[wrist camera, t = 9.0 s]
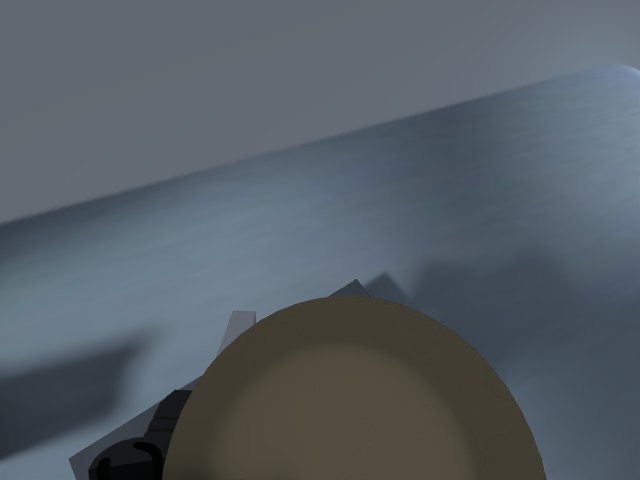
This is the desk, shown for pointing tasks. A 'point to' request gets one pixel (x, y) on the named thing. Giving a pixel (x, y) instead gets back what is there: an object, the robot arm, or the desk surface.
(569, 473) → the desk surface
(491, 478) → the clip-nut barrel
